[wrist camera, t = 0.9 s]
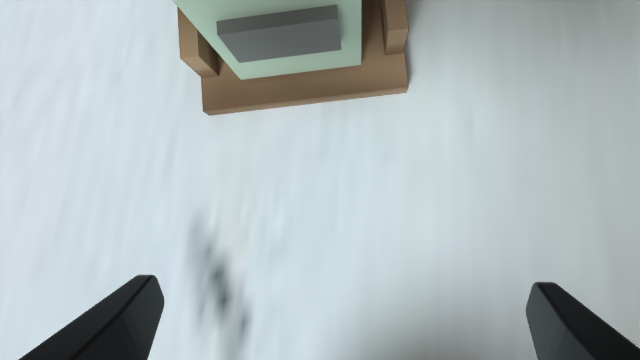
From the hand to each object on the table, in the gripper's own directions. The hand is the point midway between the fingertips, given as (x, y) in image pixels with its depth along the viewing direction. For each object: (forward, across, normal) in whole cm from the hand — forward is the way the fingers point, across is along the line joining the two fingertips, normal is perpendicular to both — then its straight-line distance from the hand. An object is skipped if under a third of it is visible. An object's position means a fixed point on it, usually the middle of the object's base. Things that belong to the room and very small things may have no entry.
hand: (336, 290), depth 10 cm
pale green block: (+16, +3, -2) cm, 17 cm away
